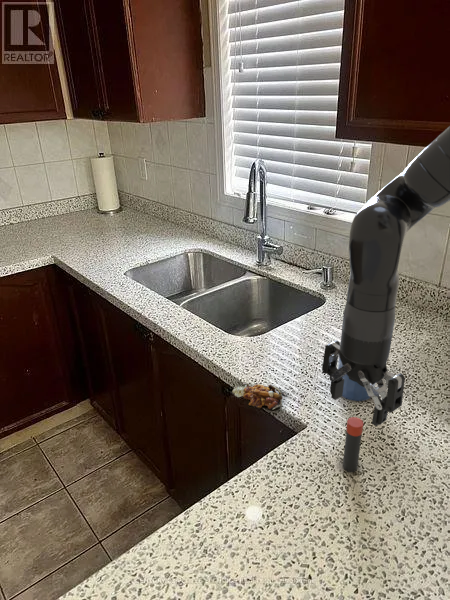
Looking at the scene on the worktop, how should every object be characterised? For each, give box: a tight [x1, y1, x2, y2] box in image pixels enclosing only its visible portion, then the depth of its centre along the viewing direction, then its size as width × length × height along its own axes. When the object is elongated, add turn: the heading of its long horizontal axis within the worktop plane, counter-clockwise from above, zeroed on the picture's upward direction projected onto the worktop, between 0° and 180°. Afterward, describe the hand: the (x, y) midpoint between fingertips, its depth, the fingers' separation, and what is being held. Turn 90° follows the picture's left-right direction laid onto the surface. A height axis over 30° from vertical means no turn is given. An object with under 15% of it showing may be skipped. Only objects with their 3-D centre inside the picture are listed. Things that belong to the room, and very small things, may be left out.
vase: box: [337, 356, 376, 402], centre depth 100 cm, size 8×8×11 cm
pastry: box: [231, 382, 287, 411], centre depth 100 cm, size 7×12×4 cm, turn 67°
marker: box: [342, 416, 364, 473], centre depth 80 cm, size 3×3×11 cm
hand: (356, 409), depth 76 cm, fingers open, 8 cm apart
